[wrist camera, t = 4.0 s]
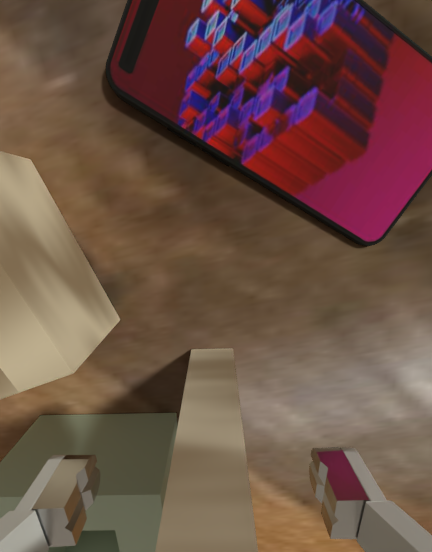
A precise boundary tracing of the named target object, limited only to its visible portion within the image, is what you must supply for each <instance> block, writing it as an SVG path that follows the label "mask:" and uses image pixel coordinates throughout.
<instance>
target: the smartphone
mask: <svg viewBox="0 0 432 552" xmlns="http://www.w3.org/2000/svg"><path fill="white" fill-rule="evenodd" d="M106 76H107V79H108V82H109V84H110V86H111V88H112V89H113V91H114V92H115V93H116V94H117V95H118V97H119V98H121V99H122V100H123V101H125V102H126V103H128V104H129V105H131V106H133V107H134V108H136V109H138V110H139V111H141V112H143V113H144V114H146V115H147V116H149V117H151V118H152V119H154V120H156V121H157V122H159V123H161V124H162V125H164V126H165V127H167V129H168V130H170V131H171V132H173V133H175V134H176V135H178V136H180V137H181V138H183V139H185V140H186V141H188V142H189V143H191V144H193V145H194V146H196V145H197V146H198V147H200V148H201V149H202V151H204V152H206V153H207V154H209V155H211V156H212V157H214V158H216V159H217V160H219V161H220V162H222V163H224V164H225V165H227V166H231V167H233V168H234V169H236V170H237V171H239V172H241V173H242V174H244V175H246V176H247V177H249V178H251V179H252V180H254V181H255V182H257V183H259V184H260V185H262V186H264V187H265V188H267V189H269V190H270V191H272V192H274V193H275V194H277V195H278V196H280V197H282V198H283V199H285V200H287V201H288V202H290V203H292V204H293V205H295V206H296V207H298V208H300V209H301V210H303V211H305V212H306V213H308V214H310V215H311V216H313V217H314V218H316V219H318V220H319V221H321V222H323V223H324V224H326V225H328V226H329V227H331V228H332V229H334V230H336V231H337V232H339V233H341V234H342V235H344V236H346V237H347V238H349V239H350V240H352V241H354V242H355V243H357V244H360V245H364V246H371V245H375V244H377V243H379V242H380V241H382V240H383V239H384V238H385V237H386V235H387V234H388V233H389V231H390V230H391V229H392V227H393V226H394V225H395V223H396V222H397V221H398V219H399V218H400V217H401V215H402V214H403V213H404V211H405V210H406V209H407V207H408V206H409V205H410V203H411V202H412V201H413V199H414V198H415V197H416V195H417V194H418V193H419V191H420V190H421V189H422V188H423V186H424V185H425V184H426V182H427V181H428V180H429V178H430V177H431V176H432V57H431V56H430V55H429V54H428V53H427V52H425V51H424V50H423V49H422V48H421V47H419V46H418V45H417V44H416V43H414V42H413V41H412V40H411V39H410V38H408V37H407V36H406V35H405V34H403V33H402V32H401V31H400V30H399V29H397V28H396V27H395V26H394V25H392V24H391V23H390V22H389V21H388V20H386V19H385V18H384V17H383V16H381V15H380V14H379V13H378V12H377V11H375V10H374V9H373V8H372V7H370V6H369V5H368V4H367V3H366V2H364V1H363V0H128V1H127V4H126V6H125V9H124V12H123V15H122V18H121V21H120V24H119V27H118V30H117V33H116V36H115V39H114V41H113V44H112V47H111V50H110V53H109V56H108V59H107V62H106Z"/></svg>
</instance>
